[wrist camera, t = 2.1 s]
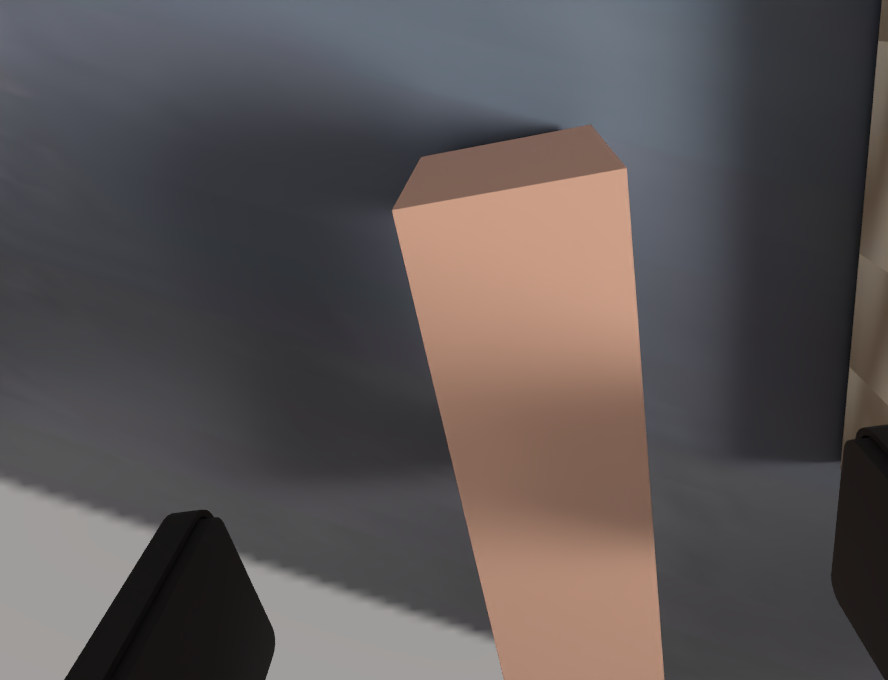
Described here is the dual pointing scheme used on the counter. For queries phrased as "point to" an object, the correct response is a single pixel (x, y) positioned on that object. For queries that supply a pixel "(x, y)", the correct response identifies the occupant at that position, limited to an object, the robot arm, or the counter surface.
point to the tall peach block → (541, 394)
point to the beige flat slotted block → (872, 270)
